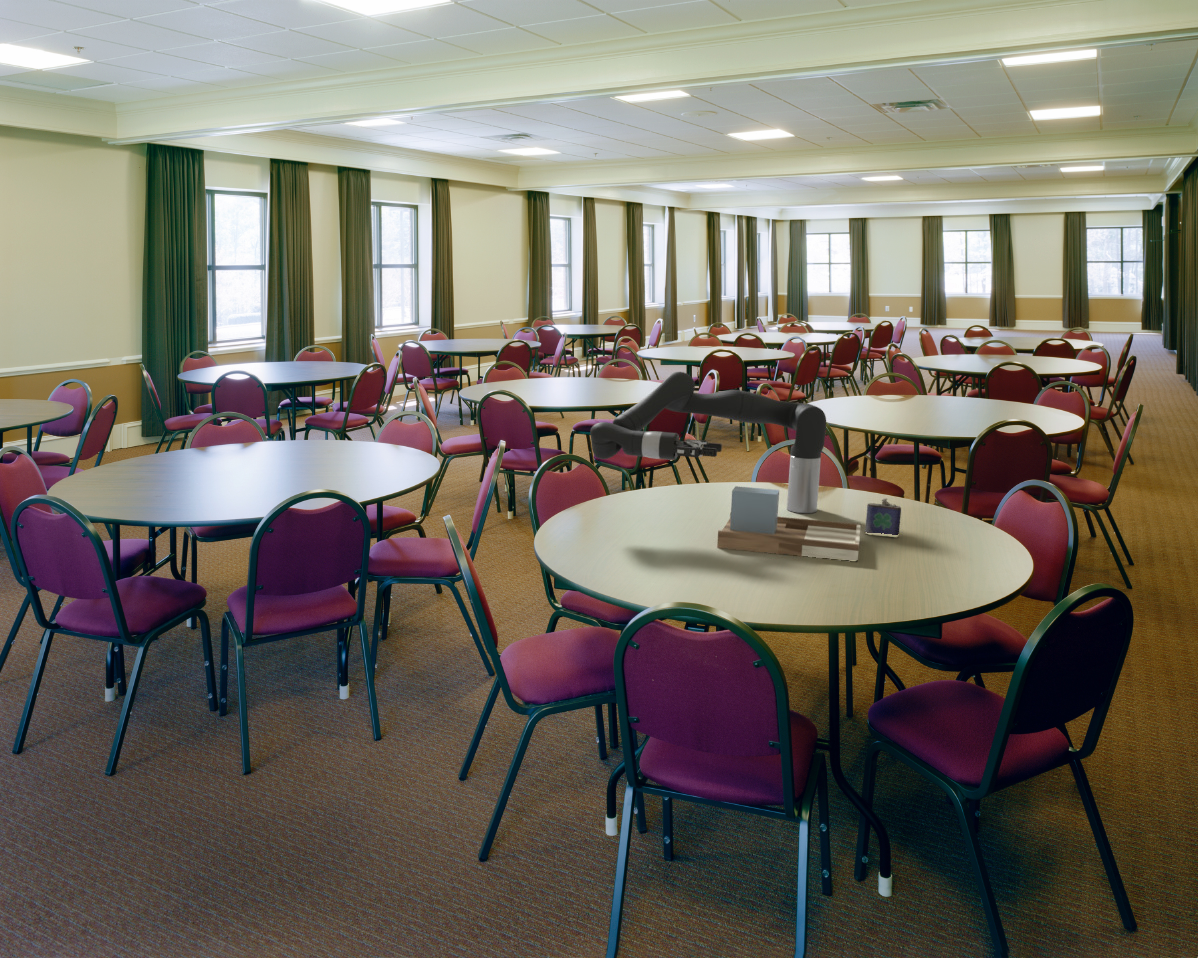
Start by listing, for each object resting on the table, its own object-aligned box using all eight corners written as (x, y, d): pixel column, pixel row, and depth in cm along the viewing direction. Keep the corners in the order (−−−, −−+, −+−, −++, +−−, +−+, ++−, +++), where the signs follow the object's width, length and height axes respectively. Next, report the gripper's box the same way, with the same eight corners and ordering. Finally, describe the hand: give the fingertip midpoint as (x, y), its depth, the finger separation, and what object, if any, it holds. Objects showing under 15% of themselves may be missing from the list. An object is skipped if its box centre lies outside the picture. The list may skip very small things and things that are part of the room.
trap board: (730, 527, 257) (730, 512, 256) (859, 539, 247) (860, 524, 246) (717, 547, 236) (718, 531, 235) (857, 562, 226) (859, 545, 225)
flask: (864, 534, 252) (867, 497, 250) (865, 532, 255) (869, 495, 253) (898, 539, 249) (901, 501, 246) (899, 536, 251) (903, 499, 249)
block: (733, 524, 248) (735, 486, 246) (776, 528, 245) (779, 489, 243) (730, 529, 243) (732, 490, 240) (774, 534, 239) (777, 494, 237)
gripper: (655, 435, 239) (715, 440, 235) (666, 428, 252) (724, 432, 248) (654, 463, 241) (714, 468, 236) (665, 454, 254) (722, 459, 250)
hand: (719, 450), depth 242 cm, fingers open, 7 cm apart
